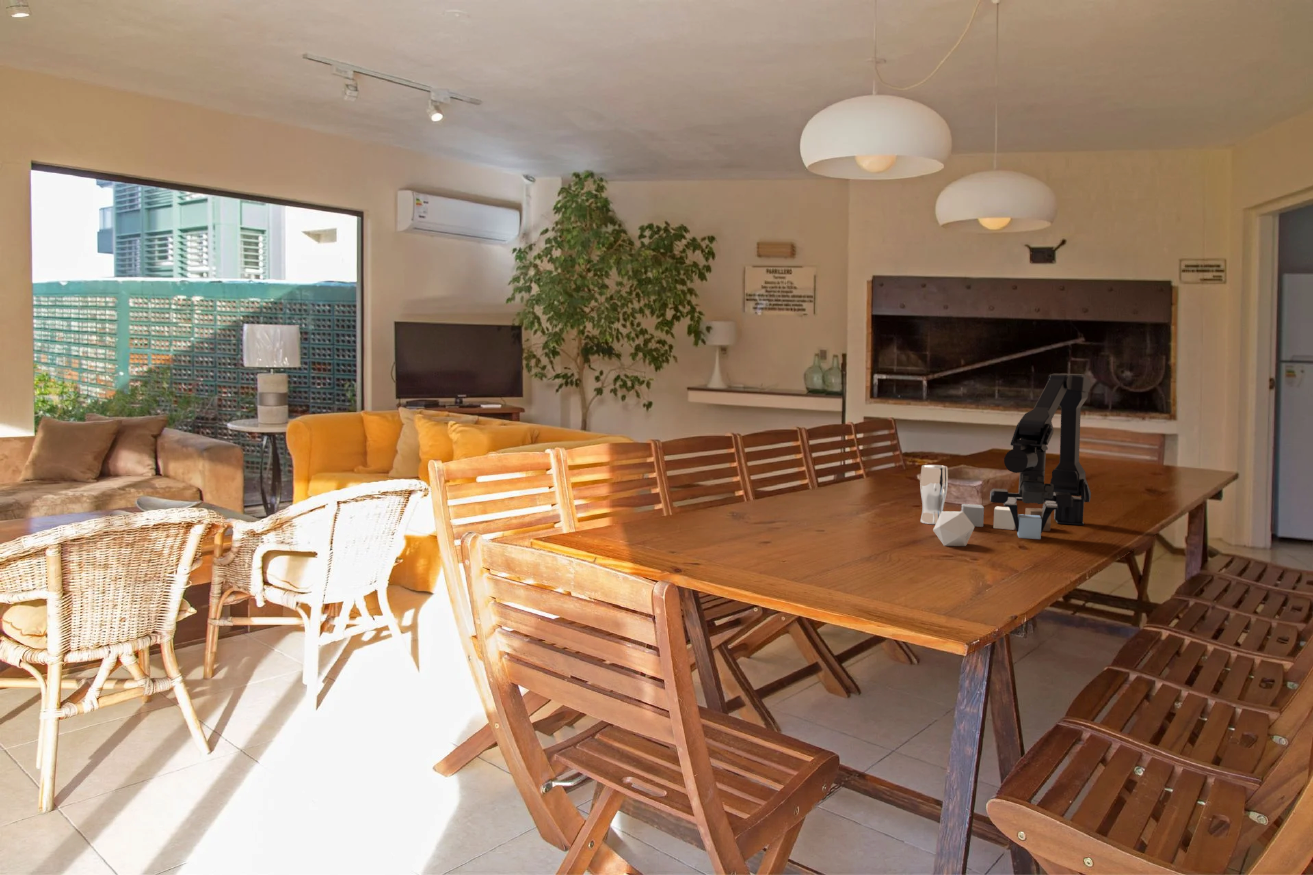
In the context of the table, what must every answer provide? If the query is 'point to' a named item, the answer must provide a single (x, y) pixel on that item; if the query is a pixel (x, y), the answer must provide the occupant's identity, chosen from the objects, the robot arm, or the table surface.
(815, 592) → the table surface
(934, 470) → the beer glass
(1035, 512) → the walnut cube
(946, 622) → the table surface
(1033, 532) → the bluish grey cube
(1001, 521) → the cream cube
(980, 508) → the grey cube
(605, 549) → the table surface
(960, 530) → the die
